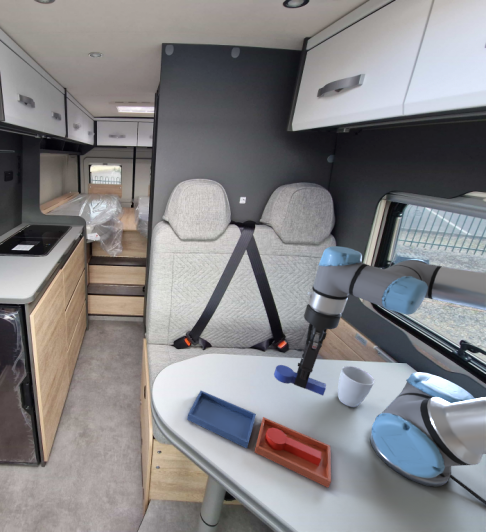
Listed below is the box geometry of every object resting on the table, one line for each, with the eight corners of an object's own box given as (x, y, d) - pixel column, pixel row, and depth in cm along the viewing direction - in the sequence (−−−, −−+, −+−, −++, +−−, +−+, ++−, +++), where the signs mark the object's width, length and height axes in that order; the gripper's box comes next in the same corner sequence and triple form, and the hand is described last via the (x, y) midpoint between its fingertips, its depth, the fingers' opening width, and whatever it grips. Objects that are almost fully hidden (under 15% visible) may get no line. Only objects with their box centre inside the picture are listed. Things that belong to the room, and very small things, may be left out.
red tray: (328, 451, 79) (330, 445, 78) (328, 488, 70) (331, 482, 69) (261, 422, 86) (262, 416, 85) (254, 452, 77) (255, 446, 77)
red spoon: (318, 454, 77) (321, 447, 76) (318, 470, 73) (321, 463, 72) (266, 431, 83) (268, 424, 82) (263, 444, 79) (265, 438, 78)
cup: (368, 413, 91) (380, 387, 87) (338, 408, 92) (349, 381, 88) (356, 393, 98) (366, 368, 94) (328, 388, 100) (337, 363, 96)
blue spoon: (323, 387, 84) (326, 380, 83) (322, 398, 80) (325, 391, 79) (275, 369, 90) (277, 362, 89) (272, 378, 86) (274, 372, 85)
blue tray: (254, 419, 87) (256, 413, 86) (246, 448, 78) (248, 442, 77) (199, 395, 94) (200, 390, 94) (187, 419, 86) (187, 414, 85)
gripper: (309, 292, 84) (288, 362, 93) (304, 316, 72) (281, 394, 81) (341, 300, 80) (316, 372, 89) (342, 327, 68) (313, 407, 77)
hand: (300, 382), depth 85 cm, fingers closed on blue spoon, 2 cm apart
